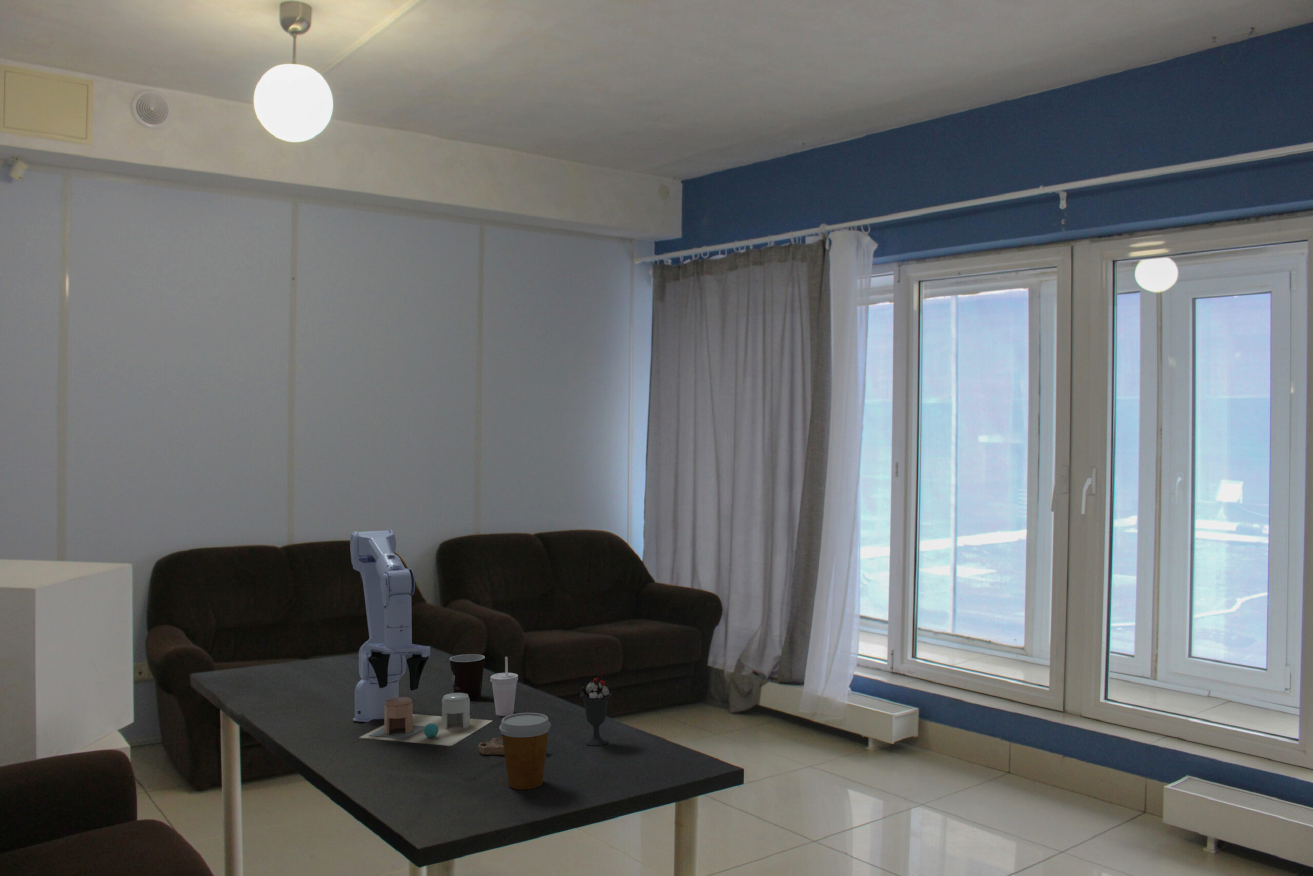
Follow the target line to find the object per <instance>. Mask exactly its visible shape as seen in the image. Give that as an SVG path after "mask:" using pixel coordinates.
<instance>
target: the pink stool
mask: <svg viewBox="0 0 1313 876" xmlns="http://www.w3.org/2000/svg"><path fill="white" fill-rule="evenodd" d="M412 701H413V700H412V698H411V697H405V696H402V697H401V696H399V697H397V698H391V699H388V700H386V701H385V704H384V719H383V720H384V724H383V725H384V732H385V733H386V734H389V730H391V729H395V728H405V733H409V732H411V731H413V714H414V713H413V712H414V710H413V709H414V704H413V702H412Z"/></svg>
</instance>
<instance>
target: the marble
mask: <svg viewBox="0 0 1313 876" xmlns="http://www.w3.org/2000/svg"><path fill="white" fill-rule="evenodd" d="M437 733H438V727H437V725H436V724H434V723H429V724H427V725H426V726H425V728H424V734H425V735H426V736H427V737H429V738H433V737H435V736H436V735H437Z"/></svg>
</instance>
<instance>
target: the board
mask: <svg viewBox="0 0 1313 876" xmlns="http://www.w3.org/2000/svg"><path fill="white" fill-rule="evenodd" d="M492 722H493V720H492V719H491V720H489V719H477V718H470V726H468V727H466V728H463V723H452V724H448V725H447V729H444V728H443V727H442V715H441V716H440V715H429V714H415V713H413V731H411V732H409V733H405V728H395V729H391V730H389V734H386V733H385V732H384V724H382V725H381V726H378V727H377V728H375V729H373V730H371V731H369V732H367V733H365V734H363V735H361V736H359V738H358V739H367V740H368V739H370V740H381V741H391V742H392V741H393V742H400V743H401V742H403V743H412V744H413V743H415V744H425V745H437V746H445V747H446V746H447V747H453V746H454V745H456V744H457V743H459V742H461V741H462V740H464V739H465V738H467V737H468V736H470V735H472V734H473V733H475V732H477V731H479V730H480V729H482V728H484V727H485V726H486V725H488V724H490V723H492ZM429 723H434V724H436V725H437V727H438V733H437V735H436V736H435V737H433V738H429V737H427V736H426V735H425V734H424V728H425V726H426V725H427V724H429Z"/></svg>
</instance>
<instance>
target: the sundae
mask: <svg viewBox="0 0 1313 876" xmlns="http://www.w3.org/2000/svg"><path fill="white" fill-rule="evenodd" d="M604 672H606V670H605V669H602V670H601V672H600V674H599V675H598V676H597V677H595V678H593V680H592V681H589V683H588V684H587V685H586V688H584V686H582V687H581V691H582V692H581V693H580V694H579V698H580V699H582V700H583V704H584V712H585V718H586V721H587V722H588V723H589V724H590V725H591V726H592V727H593V728H592V729H593V734H592V736H591V738H589V739H588V738H587V739H586V740H584V744H585V745H587V746H590V747H600V746H604V745H607V744H608V743H609V740H608V739H606V738H603V737H601V735H600V726H601V725H603V723H604V722H605V721H606V718H607V711H608V704H609V698H610V697H611V696H612V693H610V691H609V688H608V687H607V686H606V681H605V680H604V678H603V677H604V676H603V674H604ZM599 677H601V680H600V679H599Z"/></svg>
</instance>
